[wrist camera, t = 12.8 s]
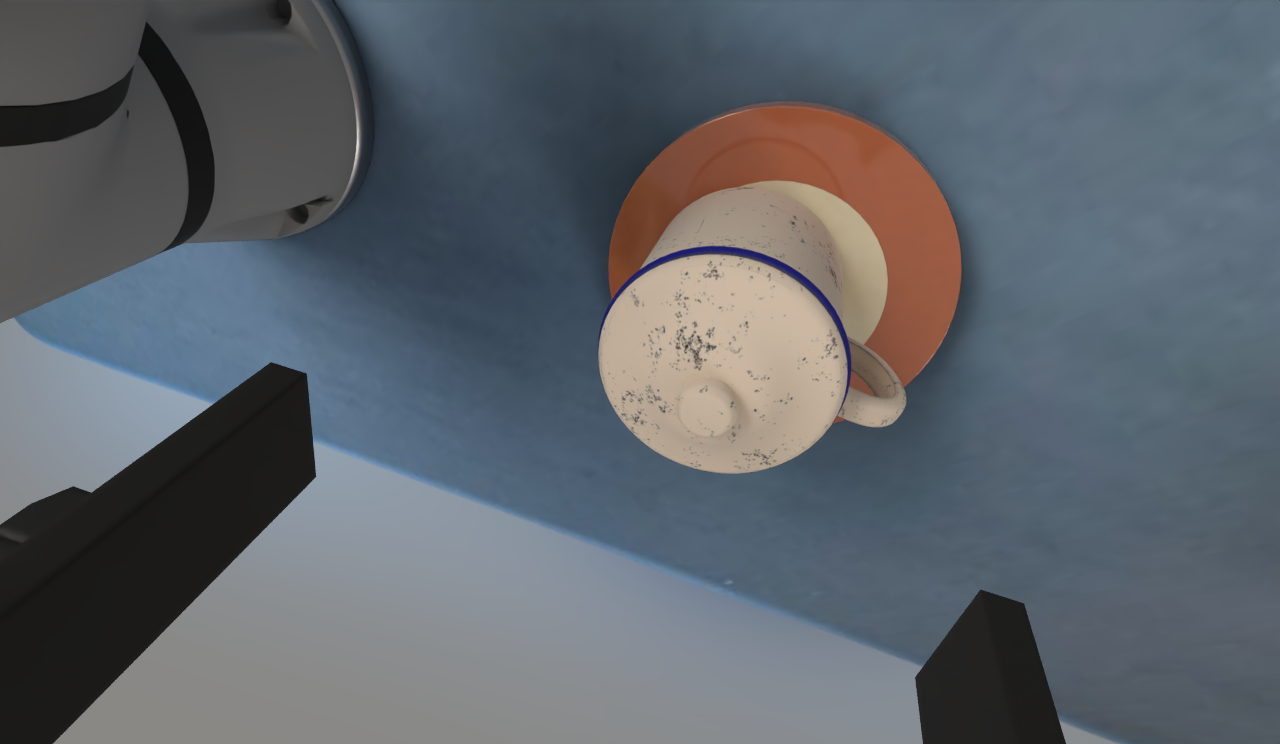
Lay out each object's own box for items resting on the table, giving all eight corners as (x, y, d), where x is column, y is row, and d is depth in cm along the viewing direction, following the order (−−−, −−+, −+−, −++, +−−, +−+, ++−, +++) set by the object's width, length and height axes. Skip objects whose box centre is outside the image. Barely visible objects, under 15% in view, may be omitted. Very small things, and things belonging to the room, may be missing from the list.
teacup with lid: (624, 315, 34) (539, 455, 24) (693, 144, 29) (621, 234, 19) (843, 415, 34) (845, 596, 24) (951, 259, 29) (1008, 409, 19)
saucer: (596, 360, 38) (585, 379, 37) (652, 58, 30) (640, 64, 28) (876, 445, 37) (878, 469, 35) (1022, 150, 28) (1035, 163, 26)
